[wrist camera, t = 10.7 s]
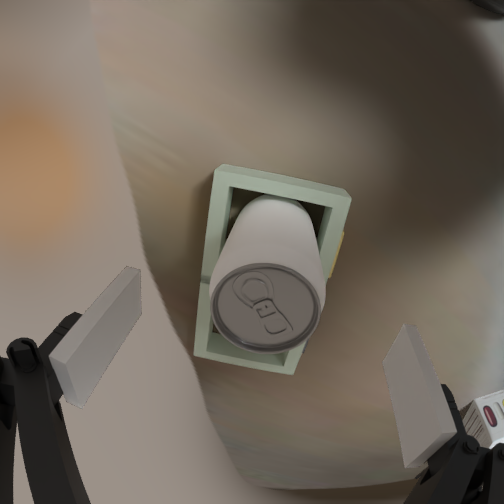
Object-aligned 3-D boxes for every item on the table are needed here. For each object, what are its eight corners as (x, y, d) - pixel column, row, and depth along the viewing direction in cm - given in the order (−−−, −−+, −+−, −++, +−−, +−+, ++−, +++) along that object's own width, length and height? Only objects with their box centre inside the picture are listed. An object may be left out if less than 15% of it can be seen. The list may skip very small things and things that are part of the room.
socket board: (348, 189, 24) (355, 199, 22) (295, 355, 32) (296, 375, 29) (222, 163, 24) (214, 169, 22) (200, 336, 32) (193, 355, 29)
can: (291, 179, 24) (296, 232, 14) (324, 246, 27) (347, 336, 16) (222, 213, 26) (177, 286, 15) (258, 275, 28) (241, 372, 18)
